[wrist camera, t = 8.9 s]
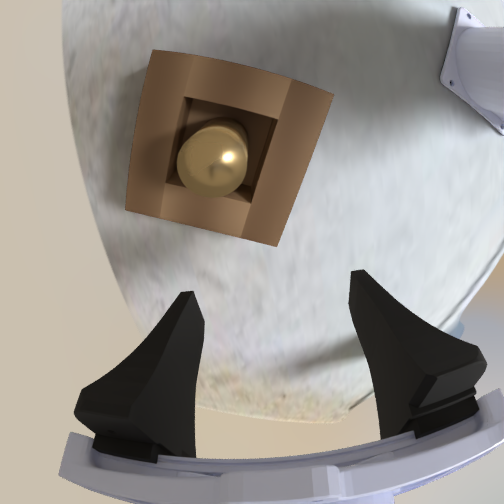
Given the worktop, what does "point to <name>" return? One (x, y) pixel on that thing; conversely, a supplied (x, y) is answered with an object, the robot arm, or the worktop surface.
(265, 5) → the worktop surface
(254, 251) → the worktop surface
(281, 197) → the hole block
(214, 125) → the bronze pin
